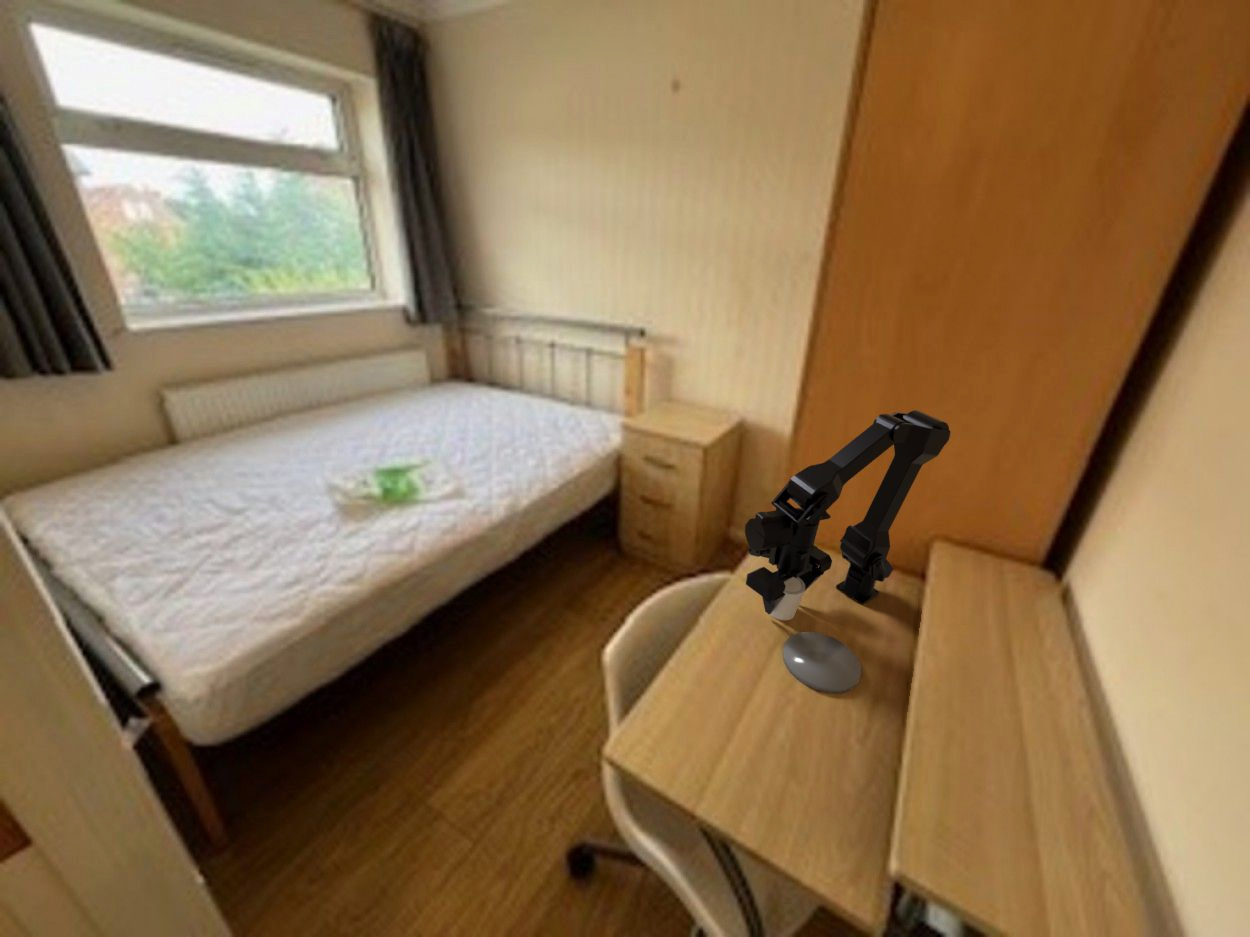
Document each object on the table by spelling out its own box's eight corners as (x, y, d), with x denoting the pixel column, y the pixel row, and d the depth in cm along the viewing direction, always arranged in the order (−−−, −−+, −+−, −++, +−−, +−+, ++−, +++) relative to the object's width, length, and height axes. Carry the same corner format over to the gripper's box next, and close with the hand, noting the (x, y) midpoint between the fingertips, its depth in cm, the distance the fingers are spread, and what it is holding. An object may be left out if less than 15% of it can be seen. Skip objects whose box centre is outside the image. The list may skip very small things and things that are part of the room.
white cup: (794, 601, 111) (802, 573, 108) (800, 624, 105) (808, 596, 102) (760, 597, 112) (766, 569, 108) (764, 620, 105) (771, 591, 102)
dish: (812, 627, 105) (813, 622, 104) (874, 671, 96) (876, 666, 95) (767, 655, 97) (768, 650, 97) (830, 706, 88) (832, 701, 88)
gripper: (794, 506, 112) (779, 568, 119) (730, 532, 101) (718, 598, 108) (842, 532, 104) (823, 597, 111) (778, 563, 93) (762, 633, 100)
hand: (781, 605), depth 108 cm, fingers open, 8 cm apart
